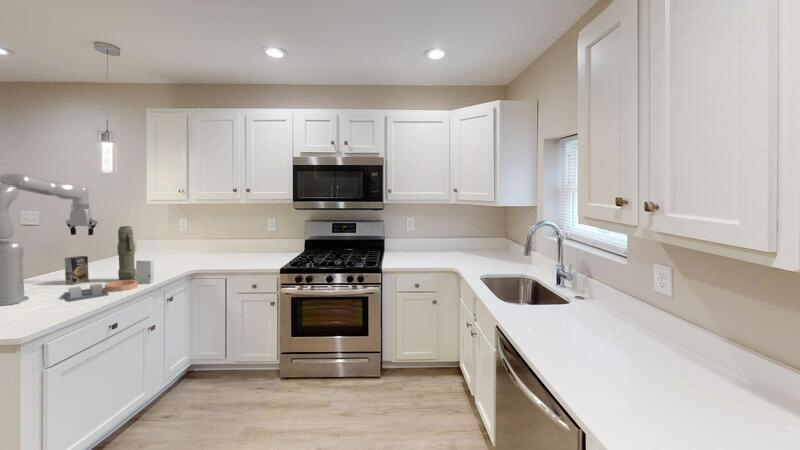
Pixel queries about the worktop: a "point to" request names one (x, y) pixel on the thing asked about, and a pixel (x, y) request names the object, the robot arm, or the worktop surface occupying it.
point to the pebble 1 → (75, 292)
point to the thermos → (126, 254)
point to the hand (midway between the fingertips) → (82, 234)
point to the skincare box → (145, 271)
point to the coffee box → (76, 270)
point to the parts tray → (85, 295)
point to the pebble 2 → (96, 289)
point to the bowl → (121, 285)
